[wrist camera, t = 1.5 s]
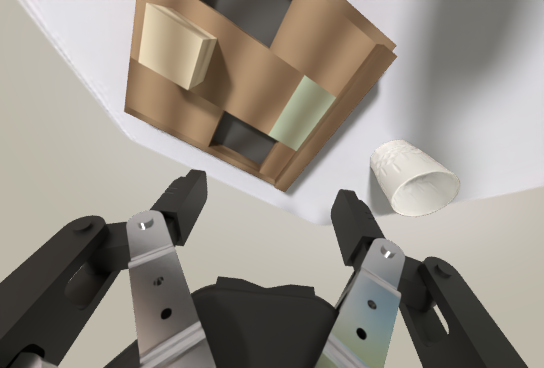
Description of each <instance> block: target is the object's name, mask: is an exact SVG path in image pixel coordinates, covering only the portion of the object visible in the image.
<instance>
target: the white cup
mask: <svg viewBox="0 0 544 368" xmlns="http://www.w3.org/2000/svg"><path fill="white" fill-rule="evenodd" d="M370 166H371V168H372V169H373V171H374V173H375V175H376V178H377V180H378V182H379V184H380V186H381V188H382V190H383V192H384V194H385V195H386V197H387V199H388V201H389V203H390V204H391V206H392V208H393V210H394V211H395V212H397V213H398V214H400V215H403V216H409V217H417V216H423V215H427V214H430V213H433V212H435V211H438V210H439V209H441V208H443V207H445V206H446V205H447V204H449V203H450V202H451V201H452V200H453V199H454V198H455V196H456V195H457V193H458V191H459V188H460V181H459V179H458V177H457V176H456V175H455V174H453V173H452V172H450V171H449V170H448V169H446V168H445V167H443V166H442V165H441V164H439V163H438V162H437V161H435V160H434V159H433V158H431V157H430V156H428V155H427V154H425V153H424V152H422V151H421V150H419V149H418V148H415V147H414V146H413V145H411V144H410V143H408V142H406V141H404V140H392V141H389V142H387V143H384V144H382V145H381V146H380V147H379V148H377V149H376V150H375V151H374V153H373V155H372V157H371V161H370Z"/></svg>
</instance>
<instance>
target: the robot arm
mask: <svg viewBox="0 0 544 368" xmlns="http://www.w3.org/2000/svg"><path fill="white" fill-rule="evenodd" d="M206 180H207V179H206V172H205V171H201V170H193V169H192V170H190V172H189V173H188V174H187V175H186V177H180V178H178V179H176V180H174V181H173V182H172V183H171V185H170V186H169V188H167V189H166V191H165V193H163V194H162V195H161V197H160V198H159V199H158V200H157V202H156V203H155V204H154V205H153V207H152V208H151V209H150V210H149V211H143V212H140V213H138V214H136V215H134V216H132V218H130V219H129V220H128V222H121V223H112V224H106V223H105V220H104V219H103V218H102V217H100V216H86V217H82V218H79V219H76V220H74V221H72V222H70V223H68V224H67V225H66V226H64V227H63V228H62V229H61V230H60V231H59V232H57V233H56V234H55V235H54V236H53V237H52V238H51V239H50V240H49V241H47V242H46V243H45V244H44V245H43V246H42V247H41V248H39V249H38V250H37V251H36V252H35V253H34V254H33V255H31V256H30V257H29V258H28V259H27V260H26V261H25V262H23V263H22V264H21V265H20V266H19V267H18V268H17V269H16V270H14V271H13V272H12V273H11V274H10V275H9V276H8V277H6V278H5V279H4V280H3V281H2V282H1V283H0V368H58V365H59V364H60V362H61V361H62V359H63V358H64V356H65V355H66V353H67V352H68V350H69V349H70V347H71V346H72V344H73V343H74V341H75V340H76V338H77V337H78V335H79V333H80V332H81V330H82V329H83V327H84V326H85V324H86V323H87V321H88V320H89V318H90V317H91V315H92V314H93V312H94V311H95V309H96V308H97V306H98V305H99V303H100V301H101V300H102V298H103V297H104V295H105V294H106V292H107V291H108V289H109V288H110V286H111V285H112V283H113V282H114V280H115V278H116V277H117V275H118V274H119V273H120V271H121V270H124V269H129V276H130V283H131V292H132V299H133V308H134V315H135V323H136V331H137V340H135V341H134V342H133V343H132V344H131V345H129V346H128V347H127V348H126V349H125V350H124V351H122V352H121V353H120V354H119V355H118V356H116V357H115V358H114V359H113V360H112V361H111V362H109V363H108V364H107V365H106V366H105V367H104V368H384V364H385V360H386V356H387V352H388V348H389V344H390V339H391V336H392V332H393V327H394V323H395V319H396V315H397V311H398V307H399V309H400V311H401V314H402V316H403V319H404V321H405V324H406V326H407V328H408V331H409V334H410V336H411V339H412V341H413V344H414V346H415V349H416V351H417V354H418V356H419V359H420V361H421V363H422V366H423V368H528V367H527V365H526V364H525V362H524V361H523V360H522V358H521V357H520V356H519V354H518V353H517V352H516V350H515V349H514V347H513V346H512V345H511V343H510V342H509V341H508V339H507V338H506V337H505V335H504V334H503V332H502V331H501V330H500V328H499V327H498V326H497V324H496V323H495V322H494V320H493V319H492V318H491V316H490V315H489V313H488V312H487V311H486V309H485V308H484V307H483V305H482V304H481V303H480V301H479V300H478V299H477V297H476V296H475V294H474V293H473V292H472V290H471V289H470V288H469V286H468V285H467V283H466V282H465V281H464V279H463V278H462V277H461V275H460V274H459V273H458V271H457V270H456V269H455V268H454V267H453V266H451V265H450V264H449V263H447V262H446V261H444V260H442V259H440V258H437V257H427V258H426V259H425V260H424V261H423V262H421V261H418V260H415V259H413V258H410V257H407V256H405V255H404V253H403V251H402V250H401V249H400V247H399V246H397V245H396V244H395V243H393V242H392V241H389V240H387V239H386V238H385V237H384V235H383V233H382V231H381V229H380V227H379V226H378V224H377V222H376V221H375V220H374V219H375V218H374V217H373V215H372V213H371V211H370V209H369V207H368V206H367V205H366V204H365V203H364V202H363V201H362V200H358V198H357V196H356V194H355V192H354V191H351V190H343V189H340V190H339V192H338V194H337V197H336V199H335V202H334V204H333V207H332V209H331V219H332V223H333V226H334V230H335V233H336V237H337V240H338V244H339V247H340V250H341V254H342V257H343V261H344V264H345V266H353V268H354V272H353V273H352V275H351V277H350V279H349V281H348V283H347V285H346V287H345V289H344V291H343V292H342V294H341V297H340V298H339V300H338V302H337V304H336V305H335V307H333V306H332V305H331V304H329V303H328V302H327V301H325V300H324V299H322V298H320V297H318V296H316V295H315V292H314V287H309V286H300V285H284V286H278V287H272V288H264V287H261V286H258V285H256V284H253V283H250V282H248V281H246V280H243V279H236V278H228V277H218V278H217V282H216V284H213V285H209V286H205V287H203V288H200V289H199V290H196V291H195V292H193V293H191V294H190V291H189V288H188V285H187V282H186V279H185V276H184V273H183V270H182V268H181V265H180V262H179V259H178V256H177V253H176V250H175V246H176V245H177V246H184V244H185V242H186V240H187V238H188V236H189V234H190V232H191V230H192V228H193V226H194V224H195V222H196V220H197V218H198V216H199V214H200V212H201V210H202V208H203V206H204V204H205V202H206V200H207V181H206ZM81 266H82V267H81ZM77 271H78V272H77ZM76 272H77V273H76ZM75 273H76V274H75ZM72 277H73V278H72ZM71 278H72V279H71ZM70 279H71V280H70ZM435 305H437V306H438V308H439V309H440V311H441V313H442V315H443V316H444V318H445V320H446V322H447V324H448V328H449V334H447V332H446V330H445V329H444V327H443V325H442V323H441V321H440V320H439V317H438V315H437V314H436V312H435V310H434V308H433V307H434V306H435Z"/></svg>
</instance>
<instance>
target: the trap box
mask: <svg viewBox="0 0 544 368" xmlns="http://www.w3.org/2000/svg"><path fill="white" fill-rule="evenodd" d="M146 3H150V4H155V5H159V6H163V7H167V8H172V9H174V10H175V11H177V12H178V13H180V14H181V15H183V16H184V17H186V18H187V19H189V20H190V21H192V22H193V23H195V24H196V25H198V26H199V27H201V28H202V29H204V30H205V31H207V32H208V33H210V34H211V35H213V36H214V37H216V38H217V41H216V44H215V47H214V50H213V53H212V56H211V60H210V63H209V66H208V69H207V72H206V75H205V78H204V81H203V82H201V83H200V84H198V85H196V86H195V87H193V88H191V89H189V90H187V89H185V88H183V87H181V86H180V85H178V84H176V83H174V82H173V81H171V80H169V79H167V78H166V77H164V76H162V75H160V74H159V73H157V72H155V71H153V70H151V69H150V68H148V67H146V66H144V65H143V64H141V63H139V62H138V61H139V54H140V46H141V39H142V31H143V24H144V16H145V8H146ZM396 46H397V45H395V44H394V43H393V42H392V41H391V40H390V39H389V38H388V37H387V36H385V35H384V34H383V33H382V32H381V31H380V30H379V29H378V28H377V27H375V26H374V25H373V24H372V23H371V22H370V21H369V20H368V19H367V18H365V17H364V16H363V15H362V14H361V13H360V12H359V11H358V10H357V9H355V8H354V7H353V6H352V5H351V4H350V3H349V2H348V1H347V0H136V7H135V16H134V25H133V34H132V44H131V53H130V62H129V71H128V81H127V90H126V99H125V109H124V112H126V113H128V114H130V115H132V116H134V117H136V118H138V119H140V120H142V121H144V122H146V123H148V124H150V125H152V126H154V127H157V128H159V129H161V130H163V131H165V132H167V133H169V134H171V135H173V136H175V137H177V138H179V139H181V140H183V141H185V142H187V143H189V144H191V145H193V146H195V147H197V148H199V149H201V150H203V151H205V152H207V153H210V154H212V155H214V156H216V157H218V158H220V159H222V160H224V161H226V162H228V163H230V164H232V165H234V166H236V167H238V168H240V169H242V170H244V171H246V172H248V173H250V174H252V175H254V176H256V177H258V178H261V179H263V180H265V181H267V182H269V183H271V184H273V185H274V187H275V188H277V189H279V190H281V191H283V192H285V191H286V190H287V189H288V188H289V187H290V185H291V184H292V183H293V182H294V181H295V179H296V178H297V177H298V176H299V175H300V173H301V172H302V171H303V170H304V168H305V167H306V166H307V165H308V164H309V162H310V161H311V160H312V159H313V158H314V156H315V155H316V154H317V153H318V152H319V150H320V149H321V148H322V147H323V146H324V144H325V143H326V142H327V141H328V140H329V138H330V137H331V136H332V135H333V134H334V132H335V131H336V130H337V129H338V127H339V126H340V125H341V124H342V123H343V121H344V120H345V119H346V118H347V117H348V115H349V114H350V113H351V112H352V111H353V109H354V108H355V107H356V106H357V105H358V103H359V102H360V101H361V100H362V99H363V97H364V96H365V95H366V94H367V92H368V91H369V90H370V89H371V88H372V86H373V85H374V84H375V83H376V82H377V80H378V79H379V78H380V77H381V76H382V74H383V73H384V72H385V71H386V70H387V68H388V67H389V66H390V65H391V64H392V62H393V61H394V60H395V59H396V57H397V56H396V55H395V54H394V53H393V52H392V51H393V49H394V48H395V47H396Z"/></svg>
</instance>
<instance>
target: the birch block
mask: <svg viewBox="0 0 544 368" xmlns="http://www.w3.org/2000/svg"><path fill="white" fill-rule="evenodd" d="M216 41H217V38H216V37H214V36H213V35H211V34H210V33H208V32H207V31H205V30H204V29H202V28H201V27H199V26H198V25H196V24H195V23H193V22H192V21H190V20H189V19H187V18H186V17H184V16H183V15H181V14H180V13H178V12H177V11H175V10H174V9H172V8H167V7H163V6H159V5H155V4H150V3H146V8H145V16H144V24H143V31H142V39H141V46H140V54H139V61H138V62H139V63H141V64H143V65H144V66H146V67H148V68H150V69H151V70H153V71H155V72H157V73H159V74H160V75H162V76H164V77H166V78H167V79H169V80H171V81H173V82H174V83H176V84H178V85H180V86H181V87H183V88H185V89H187V90H189V89H191V88H193V87H195V86H196V85H198V84H200V83H201V82H203V81H204V78H205V75H206V72H207V69H208V66H209V63H210V60H211V56H212V53H213V50H214V47H215V44H216Z"/></svg>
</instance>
